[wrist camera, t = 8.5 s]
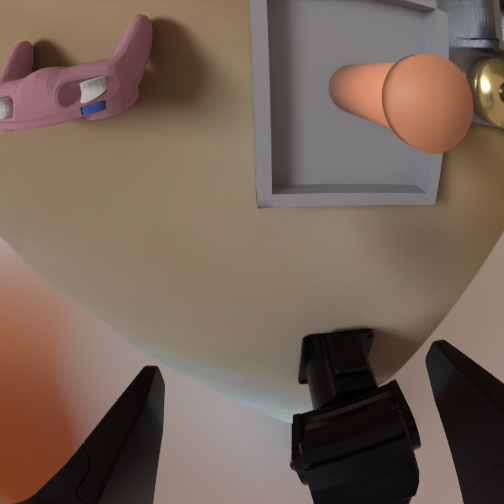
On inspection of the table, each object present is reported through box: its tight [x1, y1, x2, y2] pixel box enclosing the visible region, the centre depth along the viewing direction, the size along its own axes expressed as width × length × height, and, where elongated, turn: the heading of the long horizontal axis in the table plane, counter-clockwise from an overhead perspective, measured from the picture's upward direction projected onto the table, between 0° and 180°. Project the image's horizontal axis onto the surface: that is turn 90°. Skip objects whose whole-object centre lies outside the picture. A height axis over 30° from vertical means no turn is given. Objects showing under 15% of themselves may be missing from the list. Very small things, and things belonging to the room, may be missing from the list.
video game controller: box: [0, 15, 153, 133], centre depth 13 cm, size 10×5×7 cm, turn 87°
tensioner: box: [443, 0, 504, 129], centre depth 13 cm, size 11×9×4 cm
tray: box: [249, 0, 449, 208], centre depth 16 cm, size 14×12×2 cm
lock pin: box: [329, 54, 473, 154], centre depth 13 cm, size 4×4×9 cm
